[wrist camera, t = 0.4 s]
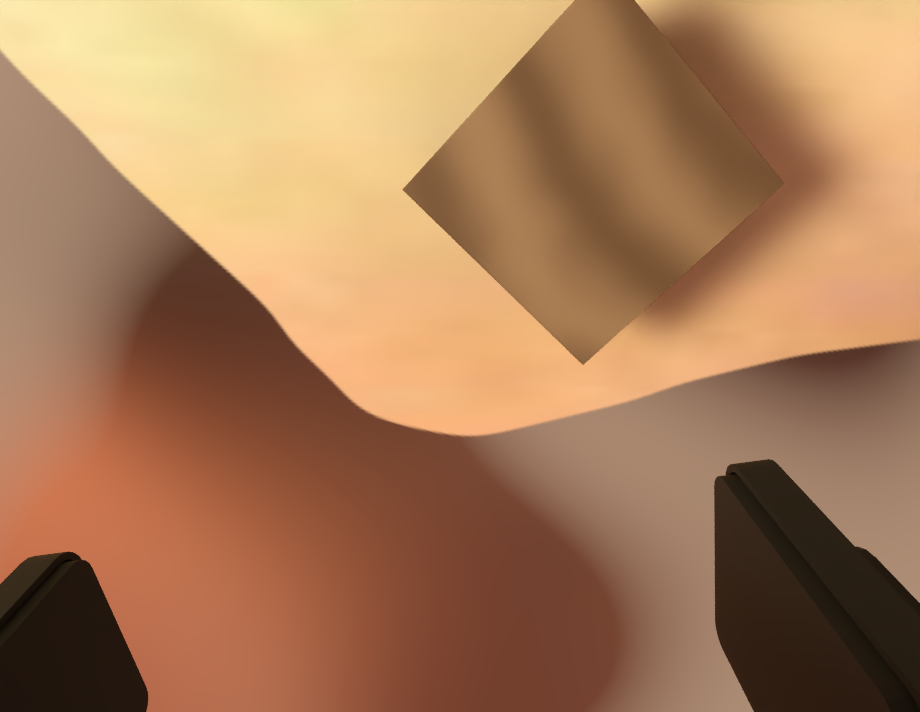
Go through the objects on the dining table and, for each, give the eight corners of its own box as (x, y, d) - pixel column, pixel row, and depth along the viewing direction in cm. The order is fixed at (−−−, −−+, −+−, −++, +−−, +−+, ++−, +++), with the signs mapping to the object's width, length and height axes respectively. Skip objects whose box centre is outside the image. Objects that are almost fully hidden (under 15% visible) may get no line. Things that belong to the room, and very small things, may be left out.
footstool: (576, -1, 33) (606, -35, 26) (724, 174, 36) (784, 183, 29) (412, 179, 36) (402, 189, 30) (562, 326, 39) (583, 365, 33)
